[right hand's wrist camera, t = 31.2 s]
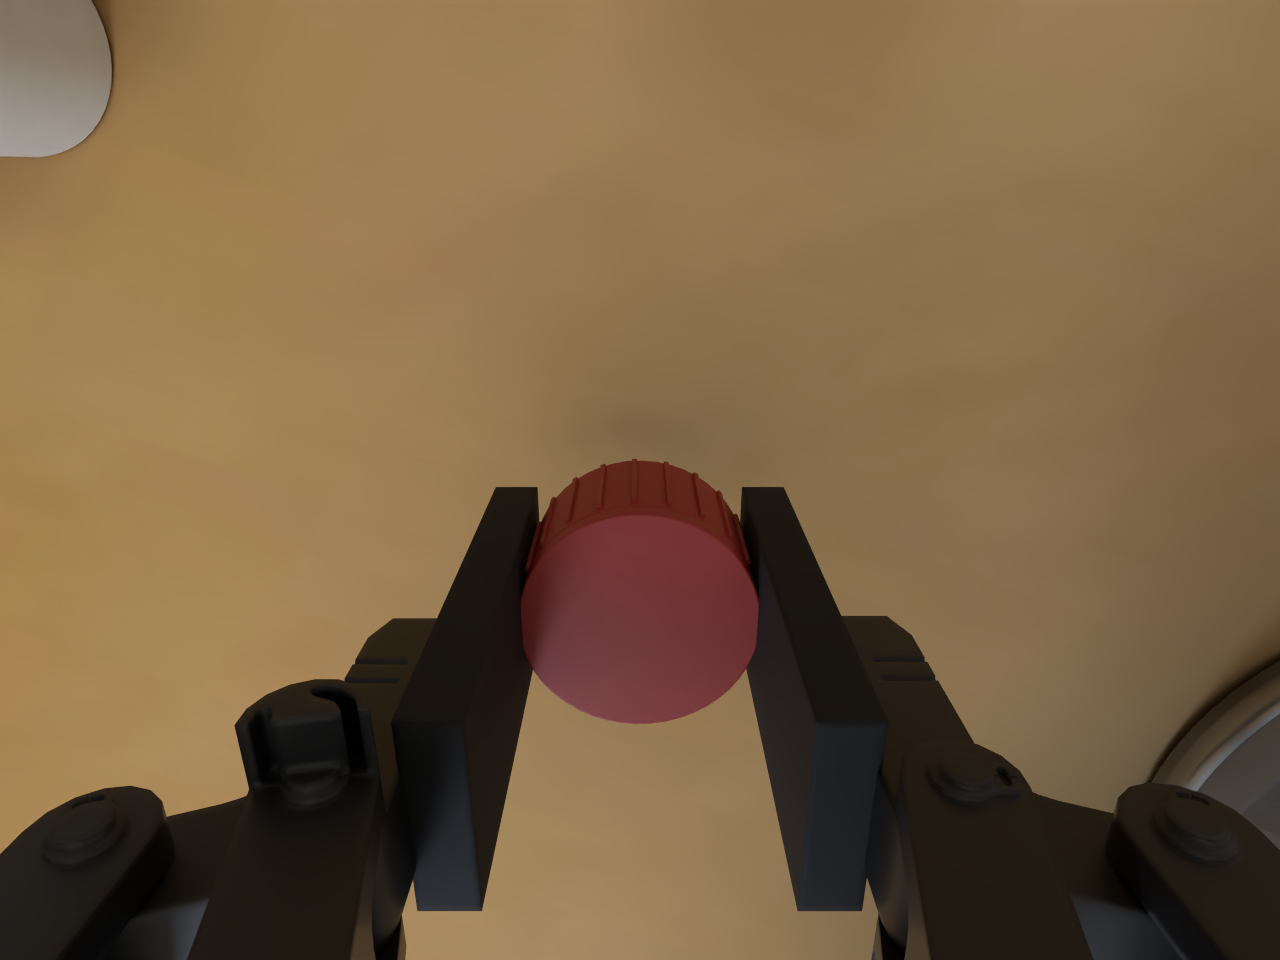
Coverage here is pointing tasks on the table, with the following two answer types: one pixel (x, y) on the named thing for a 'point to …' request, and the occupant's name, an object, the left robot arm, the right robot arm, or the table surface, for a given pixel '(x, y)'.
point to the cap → (639, 594)
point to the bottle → (51, 75)
